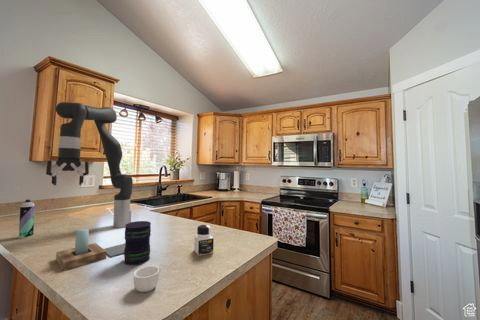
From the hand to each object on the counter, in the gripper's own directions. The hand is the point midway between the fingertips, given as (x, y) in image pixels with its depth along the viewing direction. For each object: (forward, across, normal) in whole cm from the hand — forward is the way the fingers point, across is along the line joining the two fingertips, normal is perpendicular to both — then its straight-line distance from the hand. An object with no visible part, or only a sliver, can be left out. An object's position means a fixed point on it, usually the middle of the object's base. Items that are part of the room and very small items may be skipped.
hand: (67, 184), depth 91 cm
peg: (+31, -6, +7) cm, 32 cm away
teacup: (+31, -26, +43) cm, 59 cm away
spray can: (+30, +20, -41) cm, 55 cm away
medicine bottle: (+30, -52, +27) cm, 66 cm away
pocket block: (+30, -6, +7) cm, 32 cm away
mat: (+30, -20, +5) cm, 37 cm away
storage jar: (+31, -26, +20) cm, 45 cm away
